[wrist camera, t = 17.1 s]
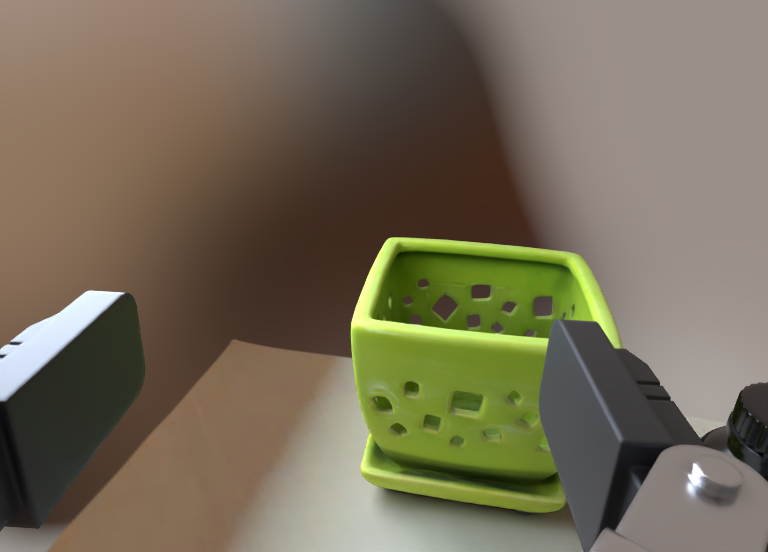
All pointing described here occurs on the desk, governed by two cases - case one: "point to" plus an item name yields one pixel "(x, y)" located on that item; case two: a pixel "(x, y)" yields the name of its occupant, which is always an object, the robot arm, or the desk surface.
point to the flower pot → (464, 369)
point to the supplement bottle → (745, 430)
